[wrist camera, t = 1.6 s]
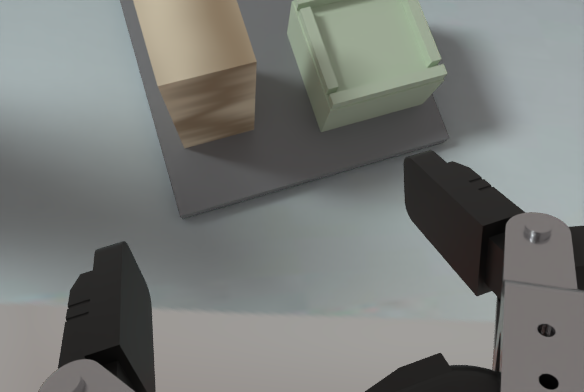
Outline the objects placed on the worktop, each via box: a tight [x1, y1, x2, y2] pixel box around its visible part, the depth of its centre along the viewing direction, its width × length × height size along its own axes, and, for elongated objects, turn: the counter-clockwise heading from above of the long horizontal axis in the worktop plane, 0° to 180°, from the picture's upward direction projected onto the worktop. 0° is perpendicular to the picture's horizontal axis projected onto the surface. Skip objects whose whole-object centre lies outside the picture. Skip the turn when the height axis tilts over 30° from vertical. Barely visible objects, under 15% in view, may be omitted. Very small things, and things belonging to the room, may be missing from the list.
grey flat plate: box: [120, 0, 449, 219], centre depth 35 cm, size 20×18×1 cm
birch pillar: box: [133, 0, 257, 148], centre depth 29 cm, size 5×5×10 cm
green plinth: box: [287, 0, 447, 132], centre depth 33 cm, size 8×8×5 cm
